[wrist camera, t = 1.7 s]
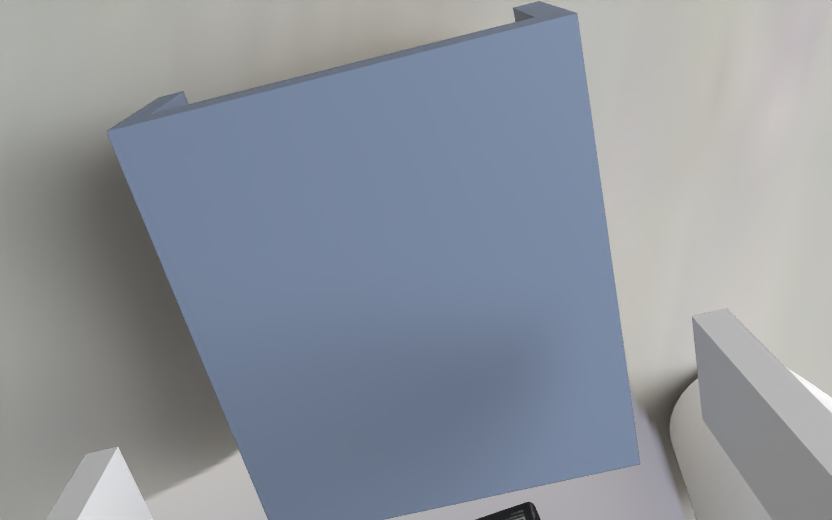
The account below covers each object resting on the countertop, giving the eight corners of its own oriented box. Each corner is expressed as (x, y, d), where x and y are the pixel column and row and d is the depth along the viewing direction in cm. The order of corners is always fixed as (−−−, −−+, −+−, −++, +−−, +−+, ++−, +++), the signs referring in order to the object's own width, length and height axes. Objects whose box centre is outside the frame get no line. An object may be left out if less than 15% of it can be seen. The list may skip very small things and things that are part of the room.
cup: (580, 412, 32) (671, 624, 22) (770, 270, 30) (971, 436, 19) (703, 533, 35) (833, 768, 25) (884, 414, 33) (1108, 620, 23)
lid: (158, 97, 22) (106, 131, 18) (539, 1, 22) (576, 13, 17) (294, 452, 28) (277, 542, 23) (600, 384, 27) (640, 464, 23)
